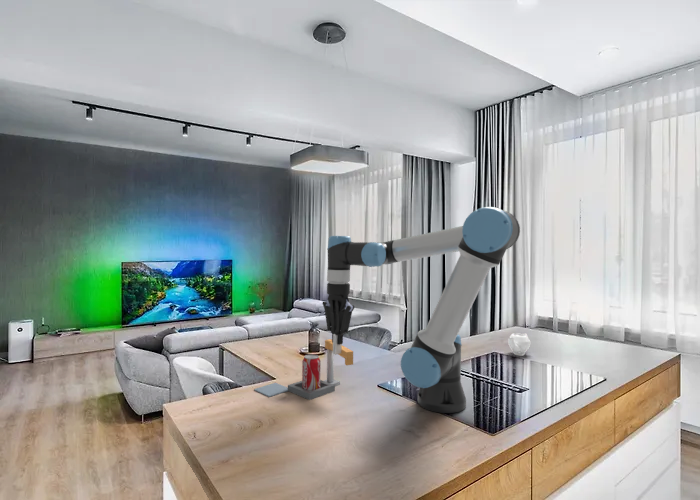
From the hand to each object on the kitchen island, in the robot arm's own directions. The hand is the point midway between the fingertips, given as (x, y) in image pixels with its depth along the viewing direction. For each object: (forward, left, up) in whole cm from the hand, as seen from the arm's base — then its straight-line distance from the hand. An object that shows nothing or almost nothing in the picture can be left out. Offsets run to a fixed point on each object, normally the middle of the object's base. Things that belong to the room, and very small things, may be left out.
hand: (337, 353), depth 135 cm
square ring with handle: (+10, -1, -15) cm, 18 cm away
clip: (+4, -4, -3) cm, 6 cm away
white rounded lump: (-23, -96, -15) cm, 99 cm away
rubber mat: (+20, +11, -15) cm, 27 cm away
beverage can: (+10, +2, -15) cm, 18 cm away
